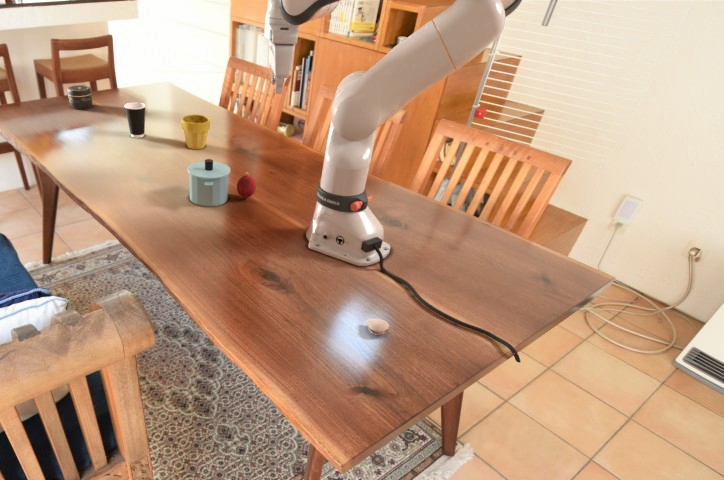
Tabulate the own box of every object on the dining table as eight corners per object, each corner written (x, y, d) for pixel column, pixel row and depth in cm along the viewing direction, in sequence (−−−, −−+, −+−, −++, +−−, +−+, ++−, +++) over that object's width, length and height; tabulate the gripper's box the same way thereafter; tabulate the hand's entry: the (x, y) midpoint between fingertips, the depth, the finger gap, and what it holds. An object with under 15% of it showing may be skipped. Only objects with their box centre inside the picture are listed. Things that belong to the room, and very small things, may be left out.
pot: (227, 186, 155) (227, 160, 150) (228, 210, 142) (229, 183, 137) (190, 186, 155) (189, 159, 149) (188, 210, 142) (188, 182, 136)
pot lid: (229, 164, 148) (229, 152, 146) (230, 181, 139) (231, 169, 136) (188, 164, 148) (187, 152, 146) (186, 181, 138) (186, 168, 136)
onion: (253, 203, 146) (255, 177, 141) (234, 201, 147) (235, 175, 142) (256, 195, 151) (258, 170, 145) (238, 193, 151) (239, 168, 146)
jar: (86, 102, 220) (83, 83, 215) (97, 107, 215) (94, 88, 210) (66, 105, 216) (62, 86, 210) (76, 111, 210) (73, 92, 205)
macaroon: (377, 340, 100) (380, 330, 98) (358, 327, 103) (361, 318, 101) (390, 332, 102) (394, 323, 100) (372, 320, 105) (375, 310, 103)
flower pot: (214, 149, 180) (214, 121, 173) (187, 152, 177) (186, 124, 170) (204, 140, 187) (204, 113, 180) (178, 142, 184) (177, 115, 177)
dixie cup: (151, 136, 188) (149, 106, 181) (133, 140, 185) (130, 109, 177) (141, 130, 193) (139, 101, 186) (123, 134, 189) (120, 104, 182)
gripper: (265, 23, 134) (262, 78, 143) (273, 36, 119) (268, 98, 128) (288, 23, 135) (283, 79, 144) (298, 37, 119) (292, 98, 128)
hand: (276, 88), depth 136 cm, fingers open, 8 cm apart
